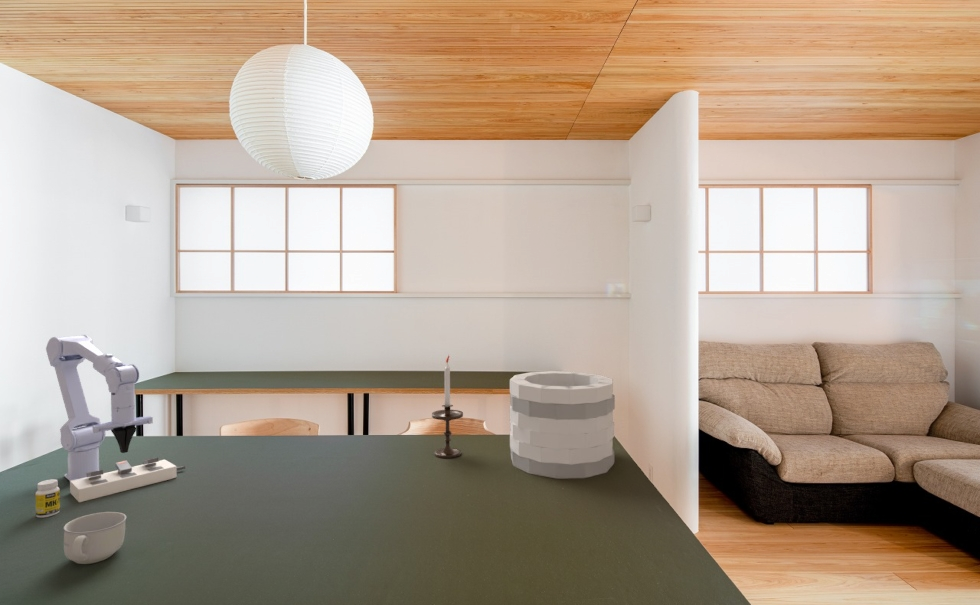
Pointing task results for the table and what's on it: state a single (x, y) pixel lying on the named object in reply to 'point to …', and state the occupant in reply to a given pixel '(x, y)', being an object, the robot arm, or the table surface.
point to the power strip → (122, 480)
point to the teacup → (94, 537)
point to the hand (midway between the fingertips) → (124, 451)
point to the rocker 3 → (150, 461)
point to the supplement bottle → (47, 498)
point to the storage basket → (562, 423)
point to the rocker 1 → (94, 473)
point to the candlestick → (447, 419)
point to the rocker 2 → (123, 467)
